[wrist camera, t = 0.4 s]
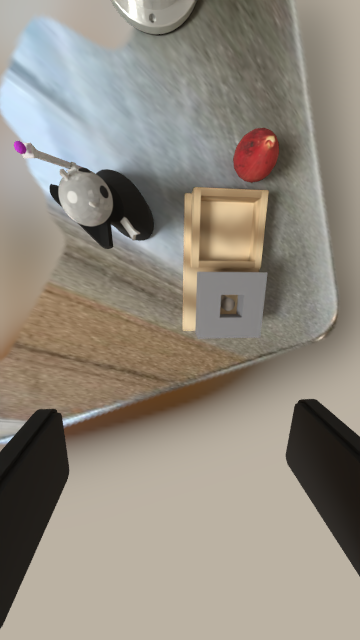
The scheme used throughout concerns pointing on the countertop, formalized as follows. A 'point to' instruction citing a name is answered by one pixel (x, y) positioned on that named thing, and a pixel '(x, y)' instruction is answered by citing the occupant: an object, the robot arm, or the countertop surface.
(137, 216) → the toy
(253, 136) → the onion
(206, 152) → the countertop surface
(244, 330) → the gray holed slab
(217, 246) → the wooden tray
